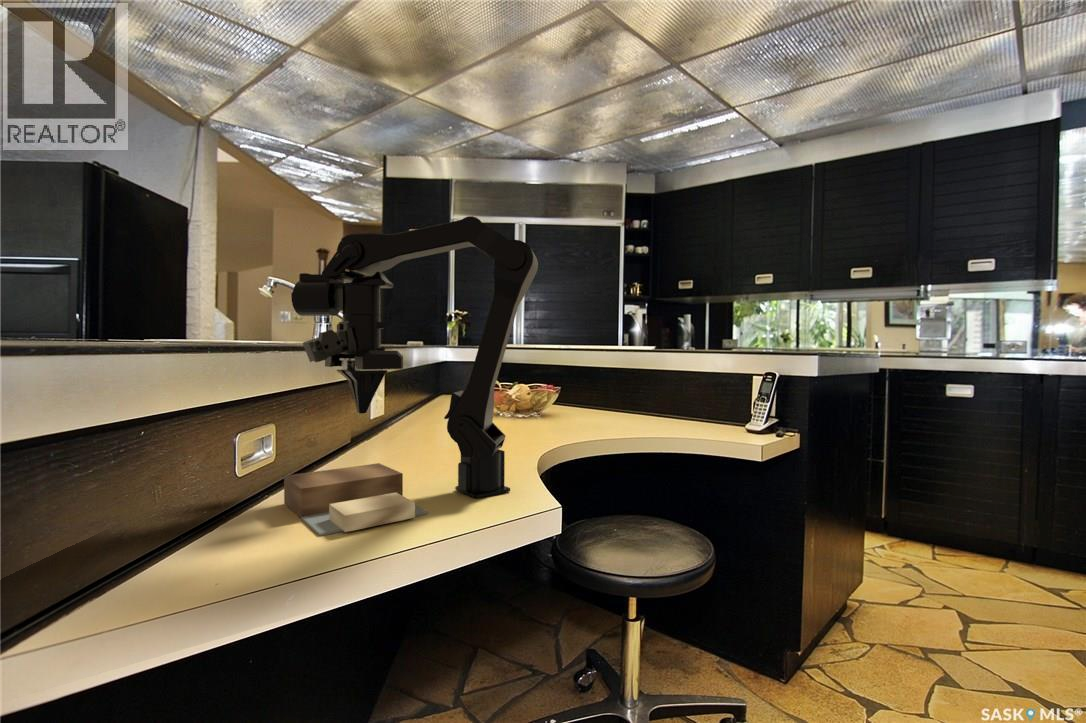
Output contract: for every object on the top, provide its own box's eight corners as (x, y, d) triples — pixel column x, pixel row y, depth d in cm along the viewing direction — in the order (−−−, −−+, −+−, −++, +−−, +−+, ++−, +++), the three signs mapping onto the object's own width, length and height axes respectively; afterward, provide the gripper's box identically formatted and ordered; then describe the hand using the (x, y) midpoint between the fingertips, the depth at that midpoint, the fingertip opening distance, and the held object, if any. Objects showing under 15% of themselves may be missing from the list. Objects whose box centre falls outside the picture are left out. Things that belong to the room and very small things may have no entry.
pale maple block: (414, 502, 69) (414, 517, 69) (395, 492, 73) (395, 506, 73) (345, 515, 63) (345, 532, 63) (329, 504, 68) (329, 519, 68)
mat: (402, 500, 78) (402, 498, 78) (427, 513, 71) (427, 511, 71) (301, 519, 69) (301, 516, 69) (319, 536, 62) (319, 533, 62)
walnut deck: (378, 487, 85) (378, 463, 84) (402, 500, 78) (402, 473, 77) (284, 503, 76) (284, 475, 76) (301, 519, 69) (301, 488, 69)
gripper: (292, 316, 86) (292, 411, 87) (328, 309, 72) (328, 423, 72) (359, 319, 93) (360, 407, 94) (404, 313, 79) (404, 417, 79)
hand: (361, 413), depth 85 cm, fingers closed
